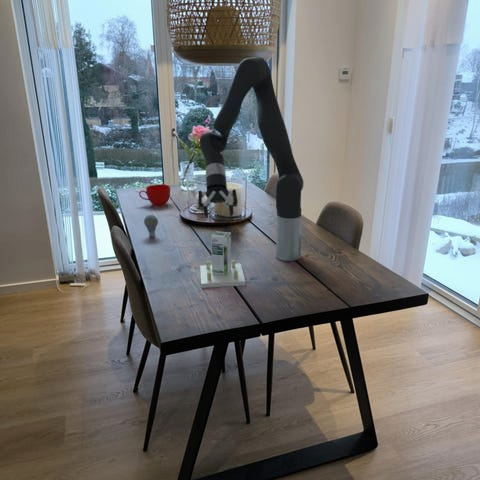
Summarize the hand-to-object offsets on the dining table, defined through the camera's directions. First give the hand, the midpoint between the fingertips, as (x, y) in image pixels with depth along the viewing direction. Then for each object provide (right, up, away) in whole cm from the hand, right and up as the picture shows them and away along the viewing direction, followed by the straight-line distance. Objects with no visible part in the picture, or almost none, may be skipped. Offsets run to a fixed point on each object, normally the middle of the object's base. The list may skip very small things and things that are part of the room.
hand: (219, 216), depth 157 cm
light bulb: (-32, -7, +38) cm, 50 cm away
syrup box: (+1, -20, -1) cm, 20 cm away
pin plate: (+1, -22, -1) cm, 22 cm away
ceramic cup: (-39, +11, +84) cm, 93 cm away
